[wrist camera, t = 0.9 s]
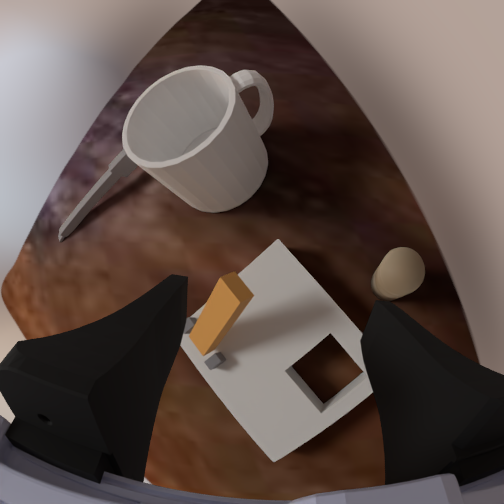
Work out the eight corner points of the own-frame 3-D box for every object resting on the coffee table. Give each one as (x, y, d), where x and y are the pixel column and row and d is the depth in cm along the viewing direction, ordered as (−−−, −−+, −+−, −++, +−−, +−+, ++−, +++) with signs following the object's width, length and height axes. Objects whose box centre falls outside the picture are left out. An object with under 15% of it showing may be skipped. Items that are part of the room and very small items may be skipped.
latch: (254, 295, 19) (240, 302, 18) (214, 349, 24) (203, 356, 24) (234, 271, 20) (220, 277, 19) (200, 330, 25) (188, 336, 24)
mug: (196, 231, 31) (135, 193, 21) (167, 158, 34) (114, 110, 24) (309, 168, 29) (291, 101, 19) (264, 102, 32) (235, 36, 23)
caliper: (176, 143, 34) (148, 114, 29) (179, 149, 34) (151, 120, 28) (60, 236, 37) (26, 224, 31) (62, 243, 37) (27, 231, 31)
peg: (411, 284, 24) (433, 271, 18) (386, 308, 24) (402, 304, 18) (388, 258, 25) (403, 237, 19) (363, 282, 25) (371, 269, 19)
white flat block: (389, 367, 23) (398, 375, 19) (280, 449, 24) (270, 468, 20) (284, 247, 28) (274, 234, 24) (188, 332, 29) (165, 333, 25)
